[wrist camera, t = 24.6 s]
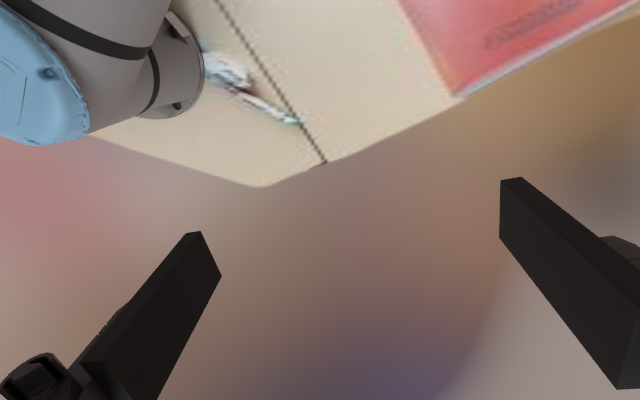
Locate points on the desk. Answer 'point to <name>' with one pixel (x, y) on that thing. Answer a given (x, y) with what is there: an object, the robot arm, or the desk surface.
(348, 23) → the desk surface
